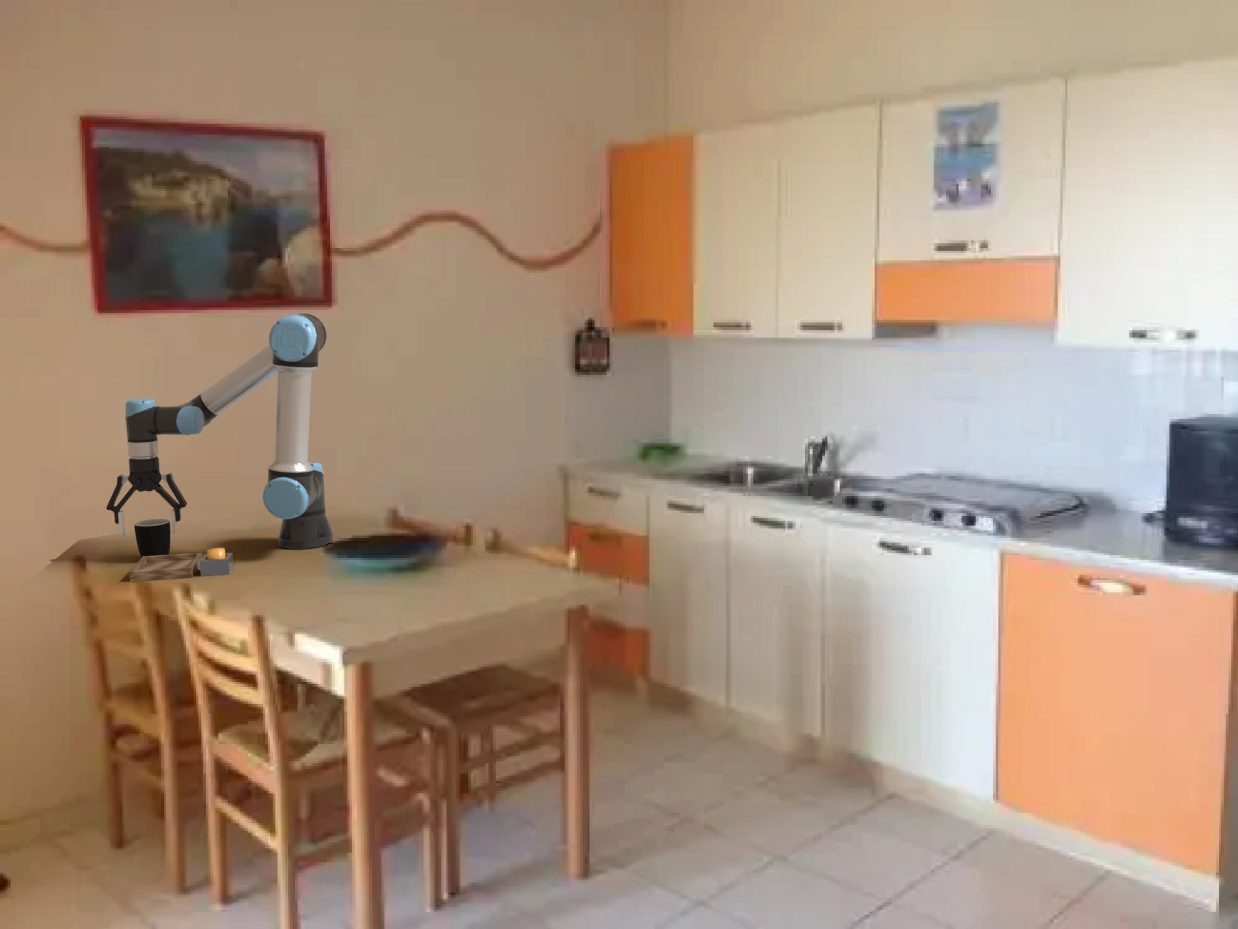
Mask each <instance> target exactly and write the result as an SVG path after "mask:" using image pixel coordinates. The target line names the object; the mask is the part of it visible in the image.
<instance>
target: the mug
mask: <svg viewBox="0 0 1238 929" xmlns="http://www.w3.org/2000/svg"><path fill="white" fill-rule="evenodd" d="M134 534H135V540H136V545H137V549H138V552H139V553H138V554H139V556H140V559H141V558H142V557H143V556H158V555H170V550H171V522H170V520H169V519H165V518H152V519H151V518H150V519H146V520H141V521H137V522H135V523H134Z"/></svg>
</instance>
